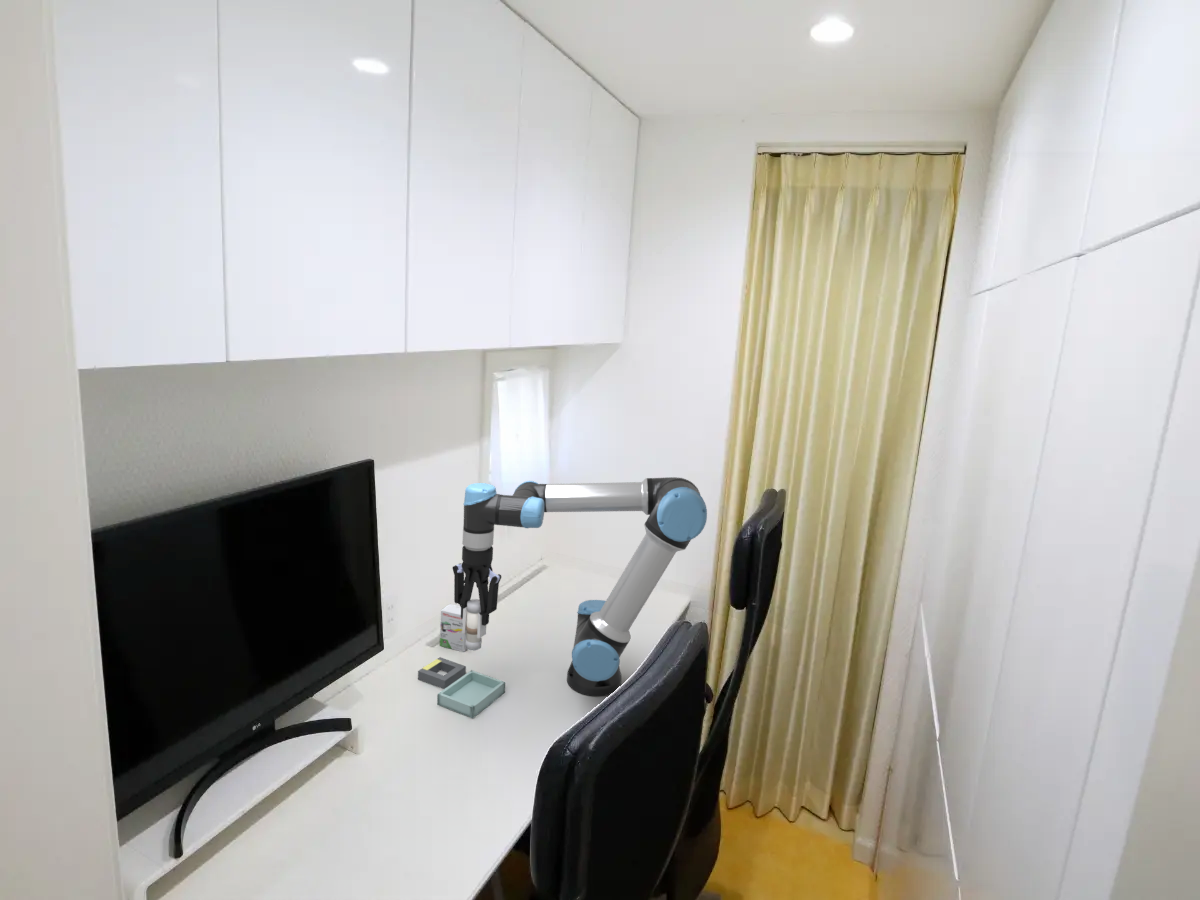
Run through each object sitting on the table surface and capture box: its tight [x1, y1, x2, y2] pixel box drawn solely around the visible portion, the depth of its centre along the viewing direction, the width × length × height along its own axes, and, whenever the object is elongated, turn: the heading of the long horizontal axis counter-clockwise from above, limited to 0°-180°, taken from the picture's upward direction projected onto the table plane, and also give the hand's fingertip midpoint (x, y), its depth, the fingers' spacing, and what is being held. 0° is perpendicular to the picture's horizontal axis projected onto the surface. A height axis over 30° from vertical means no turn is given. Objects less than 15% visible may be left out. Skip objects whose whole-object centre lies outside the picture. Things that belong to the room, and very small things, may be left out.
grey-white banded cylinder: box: [465, 598, 482, 651], centre depth 168 cm, size 4×4×12 cm
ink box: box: [439, 603, 468, 653], centre depth 197 cm, size 8×5×12 cm, turn 71°
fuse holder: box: [417, 656, 467, 690], centre depth 180 cm, size 9×9×3 cm
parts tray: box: [436, 669, 506, 719], centre depth 171 cm, size 11×14×3 cm
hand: (474, 633), depth 168 cm, fingers closed on grey-white banded cylinder, 4 cm apart
